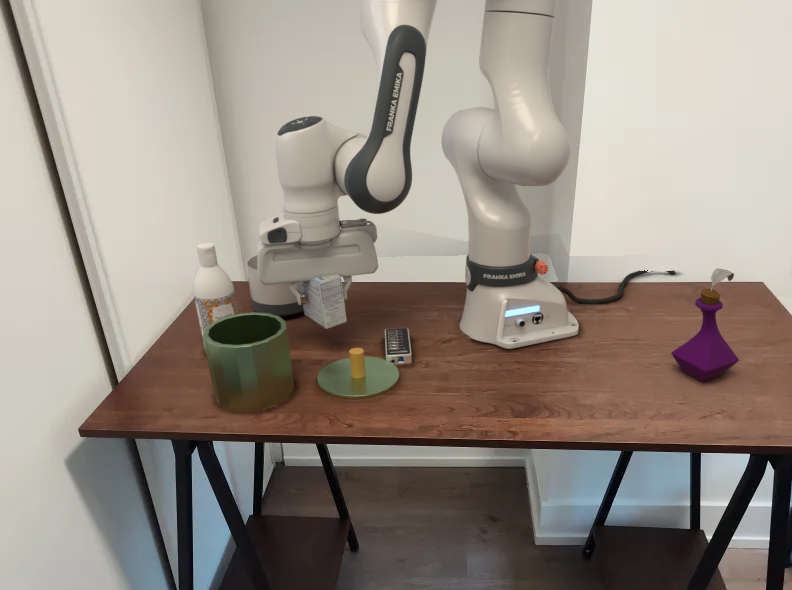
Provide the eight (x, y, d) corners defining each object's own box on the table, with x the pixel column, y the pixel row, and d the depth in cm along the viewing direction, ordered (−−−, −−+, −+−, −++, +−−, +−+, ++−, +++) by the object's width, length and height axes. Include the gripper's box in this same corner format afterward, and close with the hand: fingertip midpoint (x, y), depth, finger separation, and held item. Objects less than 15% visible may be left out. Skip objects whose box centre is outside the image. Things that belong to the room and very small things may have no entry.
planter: (284, 292, 150) (278, 246, 145) (328, 304, 143) (323, 256, 138) (240, 312, 141) (232, 264, 136) (284, 326, 134) (277, 276, 129)
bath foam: (212, 362, 122) (191, 254, 112) (200, 348, 127) (178, 244, 117) (249, 352, 125) (232, 246, 115) (236, 338, 130) (218, 236, 120)
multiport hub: (408, 338, 128) (408, 327, 127) (412, 366, 119) (411, 354, 117) (385, 339, 128) (384, 328, 127) (386, 367, 118) (385, 355, 117)
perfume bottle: (702, 389, 109) (724, 283, 100) (667, 370, 115) (685, 267, 106) (735, 377, 112) (760, 273, 103) (699, 359, 118) (719, 259, 109)
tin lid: (393, 358, 121) (391, 329, 118) (405, 397, 110) (404, 365, 107) (316, 366, 119) (312, 337, 116) (320, 406, 108) (316, 375, 105)
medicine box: (347, 322, 119) (342, 275, 115) (325, 330, 117) (319, 282, 113) (325, 308, 125) (319, 263, 120) (303, 315, 123) (297, 269, 118)
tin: (293, 370, 118) (285, 309, 113) (295, 407, 108) (286, 342, 102) (219, 378, 117) (207, 316, 111) (213, 417, 106) (199, 350, 100)
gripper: (373, 212, 116) (379, 287, 123) (251, 224, 114) (264, 300, 121) (378, 222, 111) (384, 301, 118) (250, 235, 108) (264, 315, 115)
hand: (322, 301), depth 119 cm, fingers closed on medicine box, 6 cm apart
